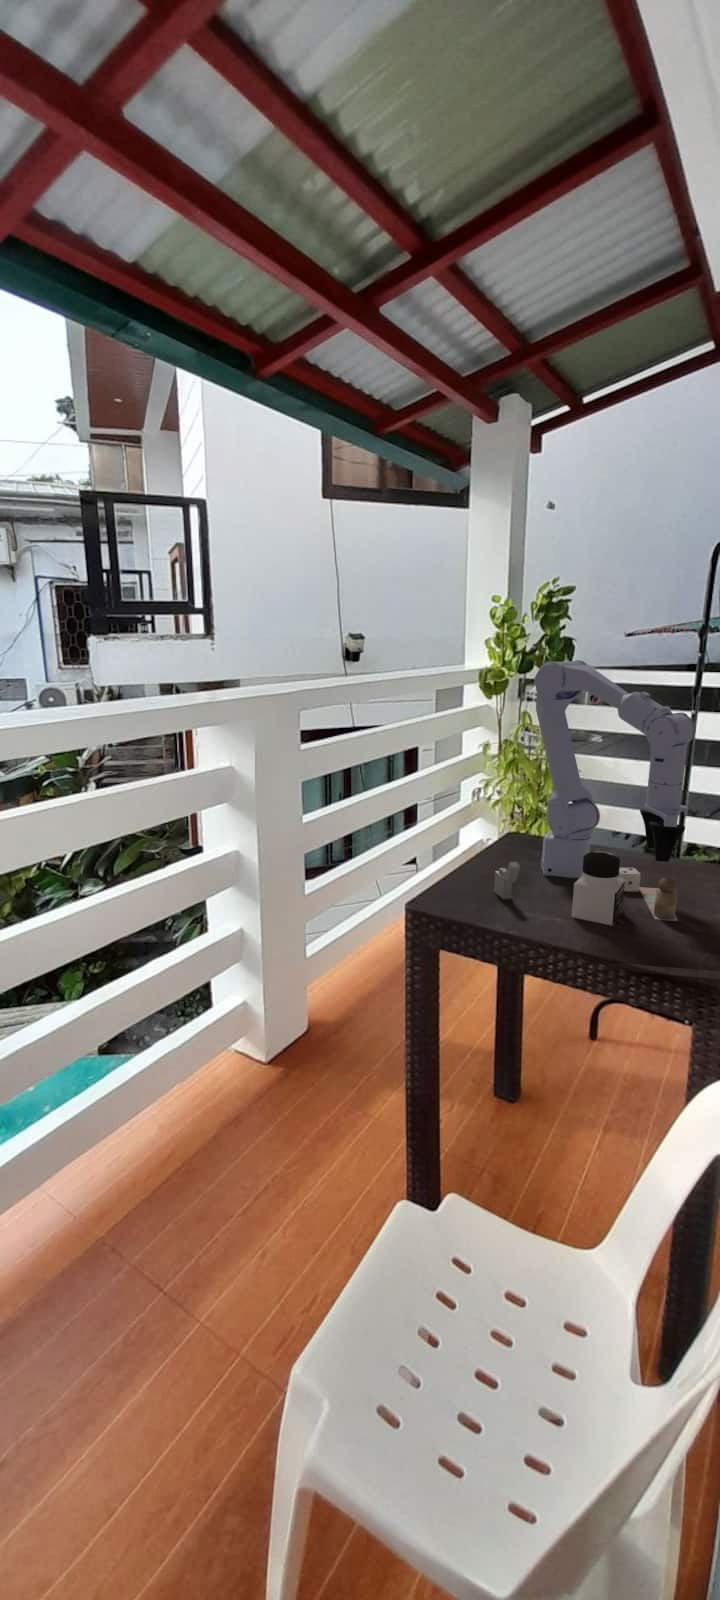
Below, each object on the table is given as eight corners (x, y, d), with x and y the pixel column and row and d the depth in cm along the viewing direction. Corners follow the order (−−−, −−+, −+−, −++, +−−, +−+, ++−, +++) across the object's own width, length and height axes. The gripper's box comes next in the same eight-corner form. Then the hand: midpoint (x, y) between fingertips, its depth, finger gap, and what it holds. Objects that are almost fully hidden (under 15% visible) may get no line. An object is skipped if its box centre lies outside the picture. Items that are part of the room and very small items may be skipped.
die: (620, 891, 134) (621, 873, 133) (613, 884, 138) (615, 867, 137) (639, 891, 134) (640, 873, 133) (632, 885, 138) (634, 867, 137)
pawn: (655, 918, 122) (659, 880, 120) (652, 911, 125) (655, 874, 123) (676, 920, 121) (681, 882, 119) (672, 912, 124) (676, 875, 122)
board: (629, 924, 121) (630, 920, 121) (613, 887, 139) (613, 882, 139) (681, 928, 120) (682, 923, 119) (658, 890, 137) (658, 885, 137)
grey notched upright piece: (493, 891, 137) (495, 852, 135) (501, 891, 137) (503, 852, 135) (510, 905, 130) (512, 864, 128) (518, 904, 130) (520, 863, 128)
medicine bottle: (612, 930, 119) (618, 863, 116) (570, 921, 123) (575, 856, 120) (622, 916, 125) (627, 852, 122) (581, 908, 129) (586, 845, 126)
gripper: (700, 792, 117) (691, 868, 120) (679, 774, 131) (672, 843, 134) (655, 790, 118) (647, 866, 122) (639, 773, 132) (633, 841, 135)
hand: (657, 854), depth 128 cm, fingers open, 7 cm apart
